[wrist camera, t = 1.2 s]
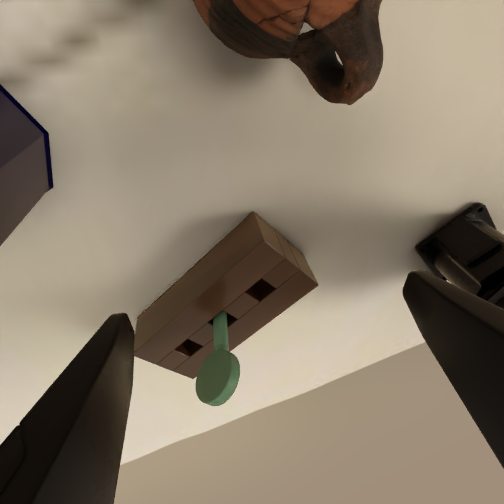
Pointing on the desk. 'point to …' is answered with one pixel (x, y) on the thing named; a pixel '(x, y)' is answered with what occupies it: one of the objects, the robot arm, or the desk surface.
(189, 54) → the desk surface
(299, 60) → the pottery mug
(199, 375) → the spoon
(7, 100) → the bottle
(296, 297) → the holder
